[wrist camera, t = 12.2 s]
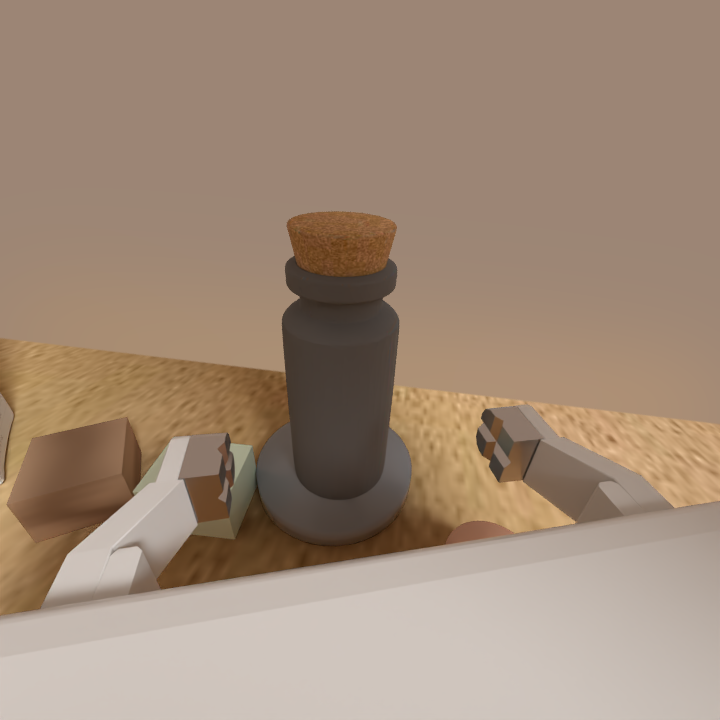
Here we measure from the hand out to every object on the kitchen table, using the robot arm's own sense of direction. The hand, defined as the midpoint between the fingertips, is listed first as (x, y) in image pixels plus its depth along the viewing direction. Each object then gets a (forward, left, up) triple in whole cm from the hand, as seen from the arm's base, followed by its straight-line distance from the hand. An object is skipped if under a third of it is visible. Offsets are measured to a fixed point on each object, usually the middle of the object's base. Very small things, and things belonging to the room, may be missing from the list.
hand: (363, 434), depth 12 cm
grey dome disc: (0, -8, -12) cm, 14 cm away
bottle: (0, -8, -10) cm, 13 cm away
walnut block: (+15, -9, -12) cm, 21 cm away
